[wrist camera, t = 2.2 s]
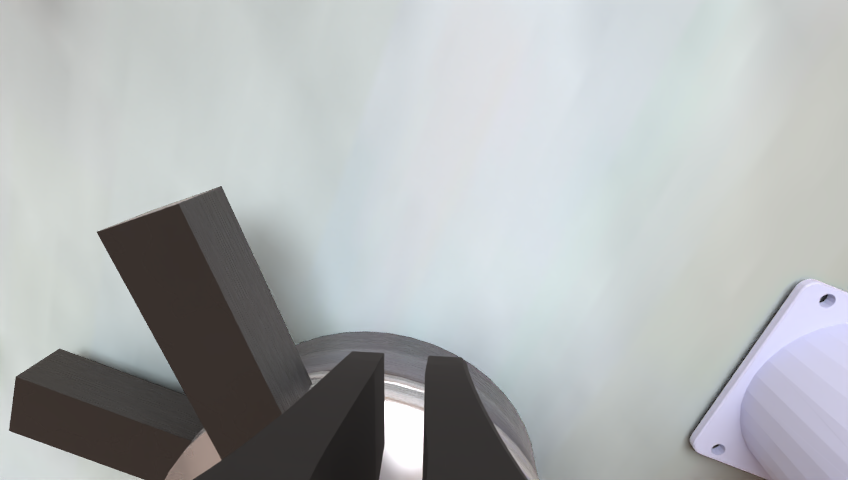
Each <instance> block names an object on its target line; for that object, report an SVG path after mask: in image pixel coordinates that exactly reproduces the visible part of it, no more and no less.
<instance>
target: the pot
mask: <svg viewBox="0 0 848 480" xmlns="http://www.w3.org/2000/svg"><path fill="white" fill-rule="evenodd" d="M295 347H296V349H297V351H298V353H299V355H300V358H301V360H302V362H303V364H304V366H305V368H306V371H307V373H308V375H309V377H310V379H311V380H313V379H322V378H323V377H324V376H325V375H326V374H327V373H329V372H330V371H331V370H332V369H333V368H334V367H335V366H336V365H337V364H338V363H339V362H340V361H342V360H343V359H344V358H345V357H346V356H347V355H349V354H350V353H351V352H352V351H358V352H375V353H384V382H385V383H392V384H396V385H399V386H403V387H406V388H410V389H414V390H417V391H421V392H423V393H424V387H425V370H426V365H427V360H428V356H445V357H458V356H456V355H455V354H453V353H451V352H449V351H446V350H444V349H442V348H440V347H437V346H435V345H433V344H430V343H427V342H424V341H420V340H417V339H414V338H411V337H406V336H400V335H395V334H390V333H378V332H346V333H339V334H333V335H327V336H322V337H318V338H315V339H312V340H308V341H305V342H302V343H300V344H298V345H295ZM464 361H465V360H464ZM465 362H466V361H465ZM466 363H467V366H468V370H469V373H470V376H471V378H472V381H473V384H474V386H475V388H476V390H477V393H478V395H479V397H480V399H481V401H482V403H483V405H484V407H485V409H486V411H487V413H488V415H489V417H490V419H491V420H492V422H493V424H494V426H495V428H496V429H497V431H498V433H499V435H500V436H501V437H502V438H503V439H504V440H505V441H506V442H507V443H508V444H509V445H510V446H512V447H513V448H514V449H515V450H516V452H517V453H518V454H519V455H520V456H521V458H522V459H523V460H524V461H525V462H526V464H527V465H528V466H529V467H530V468H531V470H532V471H533V473H534V475H535V476H536V478H537V479H538V480H539V478H538V475H537V470H536V465H535V460H534V455H533V450H532V444H531V441H530V439H529V436H528V433H527V430H526V428H525V425H524V423H523V422H522V420H521V418H520V416H519V414H518V412H517V411H516V409H515V408H514V406H513V405H512V404H511V402H510V401H509V399H508V398H507V397H506V395H505V394H504V393H503V392H502V391H501V390H500V389H499V388H498V387H497V386H496V385H495V384H494V383H493V382H492V381H491V380H490V379H489V378H488V377H487V376H486V375H484V374H483V373H482V372H480V371H479V370H478V369H477V368H475V367H474V366H473V365H471V364H470V363H468V362H466ZM203 428H204V427H203V425H202V423H201V421H200V419H199V418H198V416H197V414H196V412H195V410H194V408H193V407H192V405H191V403H190V401H189V399H188V398H187V396H186V395H184V394H181V393H178V392H175V391H173V390H170V389H167V388H165V387H162V386H159V385H157V384H154V383H151V382H148V381H146V380H143V379H140V378H138V377H135V376H132V375H129V374H127V373H124V372H121V371H119V370H116V369H113V368H111V367H108V366H105V365H102V364H100V363H97V362H94V361H92V360H89V359H86V358H83V357H81V356H78V355H75V354H73V353H70V352H67V351H65V350H62V349H58V350H57V351H55V352H54V353H52V354H50V355H49V356H47V357H46V358H44V359H43V360H41V361H40V362H38V363H37V364H35V365H33V366H32V367H30V368H29V369H27V370H26V371H24V372H23V373H21V374H19V375H18V376H16V380H15V388H14V396H13V404H12V412H11V420H10V428H9V431H11V432H14V433H17V434H20V435H22V436H25V437H28V438H31V439H33V440H36V441H39V442H42V443H44V444H47V445H50V446H53V447H56V448H58V449H61V450H64V451H67V452H69V453H72V454H75V455H78V456H80V457H83V458H86V459H89V460H92V461H94V462H97V463H100V464H103V465H105V466H108V467H111V468H114V469H116V470H119V471H122V472H125V473H128V474H130V475H133V476H136V477H139V478H141V479H144V480H165V479H166V477H167V475H168V473H169V471H170V470H171V468H172V467H173V466H174V464H175V463H176V462H177V460H178V459H179V458H180V456H181V455H182V454H183V452H184V451H185V450H186V448H187V447H188V446H189V444H190V443H191V442H192V440H193V439H194V438H195V437H196V435H197V434H198V433H199V432H200V431H201V430H202V429H203Z"/></svg>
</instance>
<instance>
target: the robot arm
mask: <svg viewBox="0 0 848 480" xmlns="http://www.w3.org/2000/svg"><path fill="white" fill-rule="evenodd" d="M826 294H827V295H828V296H827V298H826V299H825V300H824V301H823V302H820V303H819V301H820V298H821V297H822V296H824V295H826ZM690 443H691V445H692V447H693V448H694V450H695V451H696V452H697V453H699V454H701V455H704V456H707V457H709V458H712V459H714V460H717V461H720V462H722V463H725V464H727V465H730V466H733V467H735V468H738V469H741V470H743V471H746V472H748V473H751V474H754V475H756V476H759V477H761V478H764V479H767V480H848V292H846V291H843V290H841V289H838V288H836V287H833V286H831V285H828V284H826V283H823V282H821V281H818V280H815V279H806V280H803V281H801V282H799V283H798V284H797V286H796V287H795V288H794V289H793V291H792V292H791V294H790V295H789V296H788V298H787V299H786V301H785V302H784V304H783V305H782V306H781V308H780V309H779V311H778V312H777V314H776V315H775V316H774V318H773V319H772V321H771V322H770V324H769V325H768V326H767V328H766V329H765V331H764V332H763V334H762V335H761V336H760V338H759V339H758V341H757V342H756V343H755V345H754V346H753V348H752V349H751V351H750V352H749V353H748V355H747V356H746V358H745V359H744V361H743V362H742V363H741V365H740V366H739V368H738V369H737V371H736V372H735V373H734V375H733V376H732V378H731V379H730V381H729V382H728V383H727V385H726V386H725V388H724V389H723V391H722V392H721V393H720V395H719V396H718V398H717V399H716V401H715V402H714V403H713V405H712V406H711V408H710V409H709V411H708V412H707V413H706V415H705V416H704V418H703V419H702V421H701V422H700V423H699V425H698V426H697V428H696V429H695V430H694V432H693V433H692V435H691V437H690ZM717 444H720V445H719V446H718V447H715V448H712V447H713V446H714V445H717ZM384 446H385V394H384V353H375V352H358V351H352V352H351V353H350V354H349V355H347V356H346V357H345V358H344V359H343V360H342V361H340V362H339V363H338V364H337V365H336V366H335V367H334V368H333V369H332V370H331V371H330V372H329V373H327V374H326V375H325V376H324V377H323V378H322V379H321V380H320V381H319V382H318V383H317V384H316V385H314V386H313V387H312V388H311V389H310V390H309V391H308V392H307V393H305V394H304V395H303V396H302V397H301V398H300V399H299V400H297V401H296V402H295V403H294V404H293V405H292V406H291V407H289V408H288V409H287V410H286V411H285V412H284V413H282V414H281V415H280V416H279V417H278V418H276V419H275V420H274V421H273V422H271V423H270V424H269V425H268V426H266V427H265V428H264V429H262V430H261V431H260V432H259V433H257V434H256V435H255V436H254V437H252V438H251V439H250V440H248V441H247V442H246V443H245V444H243V445H242V446H241V447H239V448H238V449H237V450H235V451H234V452H232V453H231V454H230V455H228V456H227V457H225V458H224V459H223V460H221V461H220V462H218V463H217V464H215V465H214V466H213V467H211V468H210V469H208V470H206V471H205V472H203V473H202V474H200V475H199V476H197V477H196V478H194V479H193V480H379V477H380V471H381V465H382V458H383V452H384ZM422 480H528V479H527V477H526V476H525V475H524V473H523V472H522V470H521V468H520V467H519V465H518V464H517V462H516V461H515V459H514V458H513V456H512V455H511V453H510V452H509V450H508V448H507V447H506V445H505V443H504V442H503V440H502V438H501V437H500V435H499V433H498V431H497V429H496V428H495V426H494V424H493V422H492V420H491V419H490V417H489V415H488V413H487V411H486V409H485V407H484V405H483V403H482V401H481V399H480V397H479V395H478V393H477V390H476V388H475V386H474V384H473V381H472V378H471V376H470V373H469V370H468V366H467V363H466V362H465V361H464V360H463V359H462V357H445V356H428V360H427V365H426V370H425V387H424V430H423V474H422Z"/></svg>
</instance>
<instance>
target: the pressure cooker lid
mask: <svg viewBox="0 0 848 480" xmlns="http://www.w3.org/2000/svg"><path fill="white" fill-rule="evenodd" d="M97 233H98V235H99V237H100V239H101V241H102V243H103V244H104V246H105V248H106V250H107V252H108V253H109V255H110V257H111V259H112V261H113V263H114V264H115V266H116V268H117V270H118V272H119V274H120V275H121V277H122V279H123V281H124V283H125V284H126V286H127V288H128V290H129V292H130V294H131V295H132V297H133V299H134V301H135V303H136V305H137V306H138V308H139V310H140V312H141V314H142V315H143V317H144V319H145V321H146V323H147V325H148V326H149V328H150V330H151V332H152V334H153V336H154V337H155V339H156V341H157V343H158V345H159V346H160V348H161V350H162V352H163V354H164V356H165V357H166V359H167V361H168V363H169V365H170V367H171V368H172V370H173V372H174V374H175V376H176V377H177V379H178V381H179V383H180V385H181V387H182V388H183V390H184V392H185V394H186V396H187V398H188V399H189V401H190V403H191V405H192V407H193V408H194V410H195V412H196V414H197V416H198V418H199V419H200V421H201V423H202V425H203V427H204V428H203V429H202V430H201V431H200V432H199V433H198V434H197V435H196V437H195V438H194V439H193V440H192V442H191V443H190V444H189V446H188V447H187V448H186V450H185V451H184V452H183V454H182V455H181V456H180V458H179V459H178V460H177V462H176V463H175V464H174V466H173V467H172V468H171V470H170V471H169V473H168V475H167V477H166V479H165V480H193V479H194V478H196V477H197V476H199V475H200V474H202V473H203V472H205V471H206V470H208V469H210V468H211V467H213V466H214V465H215V464H217V463H218V462H220V461H221V460H223V459H224V458H225V457H227V456H228V455H230V454H231V453H232V452H234V451H235V450H237V449H238V448H239V447H241V446H242V445H243V444H245V443H246V442H247V441H248V440H250V439H251V438H252V437H254V436H255V435H256V434H257V433H259V432H260V431H261V430H262V429H264V428H265V427H266V426H268V425H269V424H270V423H271V422H273V421H274V420H275V419H276V418H278V417H279V416H280V415H281V414H282V413H284V412H285V411H286V410H287V409H288V408H289V407H291V406H292V405H293V404H294V403H295V402H296V401H297V400H299V399H300V398H301V397H302V396H303V395H304V394H305V393H307V392H308V391H309V390H310V389H311V388H312V387H313V386H314V385H316V384H317V383H318V382H319V381H320V380H321V379H313V380H311V379H310V377H309V375H308V373H307V371H306V368H305V366H304V364H303V362H302V360H301V358H300V355H299V353H298V351H297V349H296V347H295V345H294V342H293V340H292V338H291V336H290V334H289V332H288V329H287V327H286V325H285V323H284V321H283V319H282V316H281V314H280V312H279V310H278V308H277V306H276V303H275V301H274V299H273V297H272V295H271V293H270V290H269V288H268V286H267V284H266V282H265V280H264V277H263V275H262V273H261V271H260V269H259V267H258V264H257V262H256V260H255V258H254V256H253V254H252V251H251V249H250V247H249V245H248V243H247V241H246V238H245V236H244V234H243V232H242V230H241V228H240V225H239V223H238V221H237V219H236V217H235V215H234V212H233V210H232V208H231V206H230V204H229V202H228V199H227V197H226V195H225V193H224V191H223V189H222V186H220V187H218V188H215V189H212V190H209V191H206V192H203V193H200V194H198V195H195V196H192V197H189V198H186V199H183V200H180V201H178V202H175V203H172V204H169V205H166V206H163V207H160V208H158V209H155V210H152V211H149V212H147V213H144V214H141V215H139V216H136V217H134V218H131V219H129V220H126V221H124V222H121V223H119V224H116V225H113V226H111V227H108V228H106V229H103V230H101V231H98V232H97ZM384 394H385V446H384V452H383V458H382V465H381V471H380V477H379V480H422V474H423V430H424V393H423V392H421V391H417V390H414V389H410V388H406V387H403V386H399V385H396V384H392V383H385V382H384ZM500 437H501V436H500ZM501 438H502V437H501ZM502 440H503V442H504V443H505V445H506V447H507V448H508V450H509V452H510V453H511V455H512V456H513V458H514V459H515V461H516V462H517V464H518V465H519V467H520V468H521V470H522V472H523V473H524V475H525V476H526V477H527V479H528V480H538V479H537V478H536V476H535V475H534V473H533V471H532V470H531V468H530V467H529V466H528V465H527V464H526V462H525V461H524V460H523V459H522V458H521V456H520V455H519V454H518V453H517V452H516V450H515V449H514V448H513V447H512V446H510V445H509V444H508V443H507V442H506V441H505V440H504V439H503V438H502Z"/></svg>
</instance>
